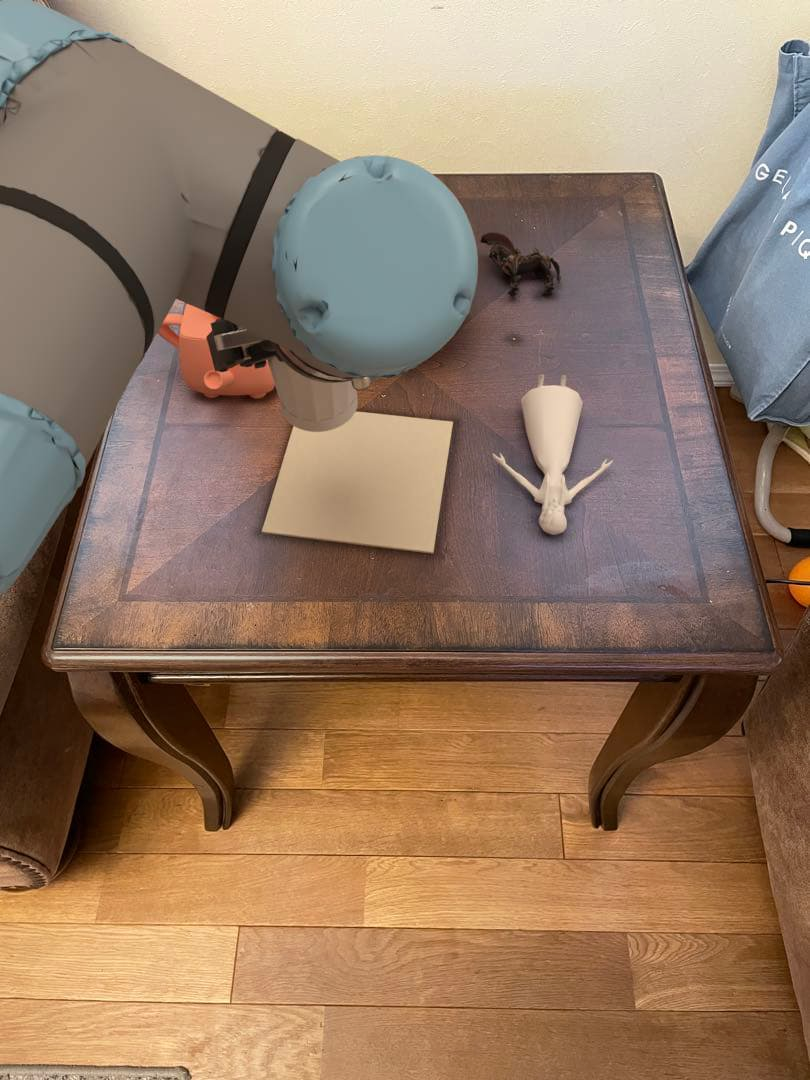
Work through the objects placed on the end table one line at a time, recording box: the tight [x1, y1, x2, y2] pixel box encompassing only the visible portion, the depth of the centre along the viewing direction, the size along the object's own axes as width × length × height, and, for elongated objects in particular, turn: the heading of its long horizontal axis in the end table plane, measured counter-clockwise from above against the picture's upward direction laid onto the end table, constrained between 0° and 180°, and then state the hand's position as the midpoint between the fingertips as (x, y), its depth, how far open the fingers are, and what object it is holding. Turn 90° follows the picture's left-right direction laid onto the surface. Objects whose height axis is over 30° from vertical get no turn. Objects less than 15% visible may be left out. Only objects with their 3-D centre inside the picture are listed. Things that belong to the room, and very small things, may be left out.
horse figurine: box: [479, 231, 562, 341], centre depth 92 cm, size 9×4×15 cm
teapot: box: [157, 303, 275, 399], centre depth 81 cm, size 12×12×10 cm
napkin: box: [261, 410, 454, 555], centre depth 78 cm, size 16×16×1 cm
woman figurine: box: [491, 373, 614, 536], centre depth 77 cm, size 12×4×18 cm
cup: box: [268, 357, 359, 432], centre depth 61 cm, size 8×8×12 cm
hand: (305, 340), depth 65 cm, fingers closed on cup, 7 cm apart
